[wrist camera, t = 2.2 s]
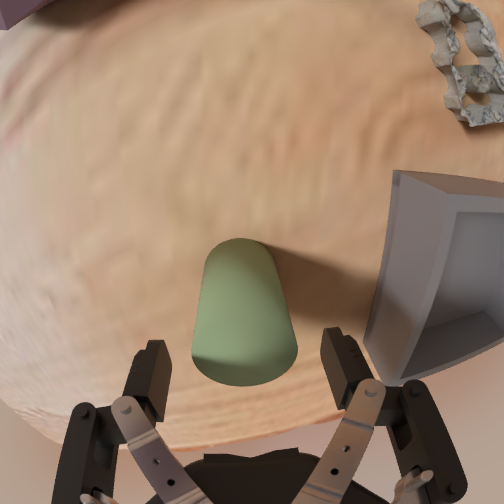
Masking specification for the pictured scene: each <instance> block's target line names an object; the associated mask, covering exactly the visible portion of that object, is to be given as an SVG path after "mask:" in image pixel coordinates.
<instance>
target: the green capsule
mask: <svg viewBox="0 0 504 504" xmlns="http://www.w3.org/2000/svg"><path fill="white" fill-rule="evenodd" d="M297 352H298V346H297V342H296V338H295V334H294V330H293V327H292V323H291V319H290V316H289V312H288V308H287V305H286V301H285V297H284V294H283V290H282V287H281V283H280V279H279V276H278V272H277V269H276V265H275V262H274V259H273V256H272V255H271V253H270V252H269V251H268V249H267V248H266V247H264V246H263V245H262V244H260V243H258V242H256V241H253V240H250V239H244V238H237V239H231V240H227V241H225V242H222V243H221V244H219V245H218V246H216V247H215V248H214V249H213V250H212V251H211V252H210V254H209V255H208V257H207V259H206V262H205V267H204V273H203V279H202V284H201V291H200V297H199V303H198V309H197V316H196V322H195V329H194V336H193V343H192V359H193V362H194V364H195V365H196V367H197V368H198V369H199V371H200V372H202V373H203V374H204V375H205V376H207V377H208V378H210V379H212V380H214V381H216V382H219V383H222V384H226V385H230V386H255V385H260V384H264V383H267V382H270V381H272V380H274V379H276V378H278V377H280V376H281V375H283V374H284V373H285V372H286V371H287V370H288V369H289V368H290V367H291V366H292V365H293V363H294V361H295V359H296V357H297Z"/></svg>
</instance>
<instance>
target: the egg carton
mask: <svg viewBox="0 0 504 504" xmlns="http://www.w3.org/2000/svg"><path fill="white" fill-rule="evenodd" d="M418 7H419V13H418V15H416V16H415V19H416V22H417V24H418V26H419V27H420V28H422V29H424V30H425V31H427V32H428V33H429V34H430V35H431V37H432V39H433V40H434V43H435V51H434V53H433V54H431V55H430V56H431V58H432V60H433V62H434V65H435V67H436V68H438V69H440V70H441V71H442V72H443V73H444V74H445V76H446V78H447V81H448V91H447V93H446V94H445V95H443V98H444V103H445V106H446V108H448V109H451V110H452V111H453V112H454V113H455V115H456V117H457V119H458V121H467V122H469V126H470V127H474V126H477V125H486V124H492V123H499V122H504V63H503V60H502V56H501V53H500V51H499V48H498V46H497V42H496V36H495V31H494V27H493V25H492V23H491V21H490V20H489V19H488V17H487V16H486V15H485V14H484V13H483V12H482V11H481V10H480V9H479V8H477V7H476V6H474V5H472V4H470V3H465V2H461V1H460V0H428V1H425V2H423V3H420V4H418ZM454 14H455V15H456V16H457V17H458V18H459V19H460V20H463V21H464V22H465V24H466V27H467V29H468V31H466V32H465V34H464V37H465V42H466V44H467V46H468V48H469V49H470V50H471V51H472V52H473V53H474V54H476V55H477V56H478V59H479V62H480V65H464V66H458V67H457V68H456V67H455V66H454V65H452V58H453V56H454V55H456V54H457V53H459V51H460V43H459V40H458V38H457V37H456V35H455V31H453V29H452V26H451V22H450V20H451V16H450V15H454ZM465 92H468V93H469V92H470V93H488V96H489V102H488V103H487V104H486V105H475V104H469V105H468V106H467V107H466V109H465V110H464V109H463V104H462V98H463V97H464V93H465Z"/></svg>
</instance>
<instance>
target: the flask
mask: <svg viewBox="0 0 504 504" xmlns="http://www.w3.org/2000/svg"><path fill="white" fill-rule="evenodd" d="M53 1H55V0H0V30H9V29H10V28H11V27H13V26H14V25H16V24H17V23H19V22H20V21H21V20H23V19H25V18H26V17H28V16H29V15H31V14H32V13H34V12H36V11H37V10H39V9H41V8H42V7H44V6H46V5H48V4H49V3H51V2H53Z"/></svg>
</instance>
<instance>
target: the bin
mask: <svg viewBox="0 0 504 504" xmlns="http://www.w3.org/2000/svg"><path fill="white" fill-rule="evenodd" d="M502 342H504V183H501V182H495V181H489V180H483V179H477V178H470V177H462V176H455V175H446V174H437V173H427V172H415V171H402V170H393V181H392V192H391V202H390V211H389V219H388V226H387V233H386V240H385V246H384V252H383V257H382V263H381V268H380V273H379V278H378V283H377V288H376V292H375V297H374V301H373V305H372V309H371V313H370V317H369V321H368V325H367V328H366V332H365V336H364V339H363V344H364V346H365V348H366V350H367V352H368V354H369V356H370V358H371V360H372V362H373V364H374V366H375V368H376V370H377V372H378V374H379V377H380V379H381V381H382V383H383V384H384V385H385V386H394V387H396V386H400V385H403V384H405V382H407V381H408V380H412V379H416V380H418V379H421V378H423V377H426V376H429V375H432V374H434V373H437V372H440V371H442V370H445V369H447V368H450V367H452V366H454V365H457V364H459V363H461V362H464V361H466V360H468V359H470V358H472V357H475V356H476V355H479V354H481V353H483V352H485V351H487V350H489V349H491V348H493V347H495V346H496V345H498V344H500V343H502Z"/></svg>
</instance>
